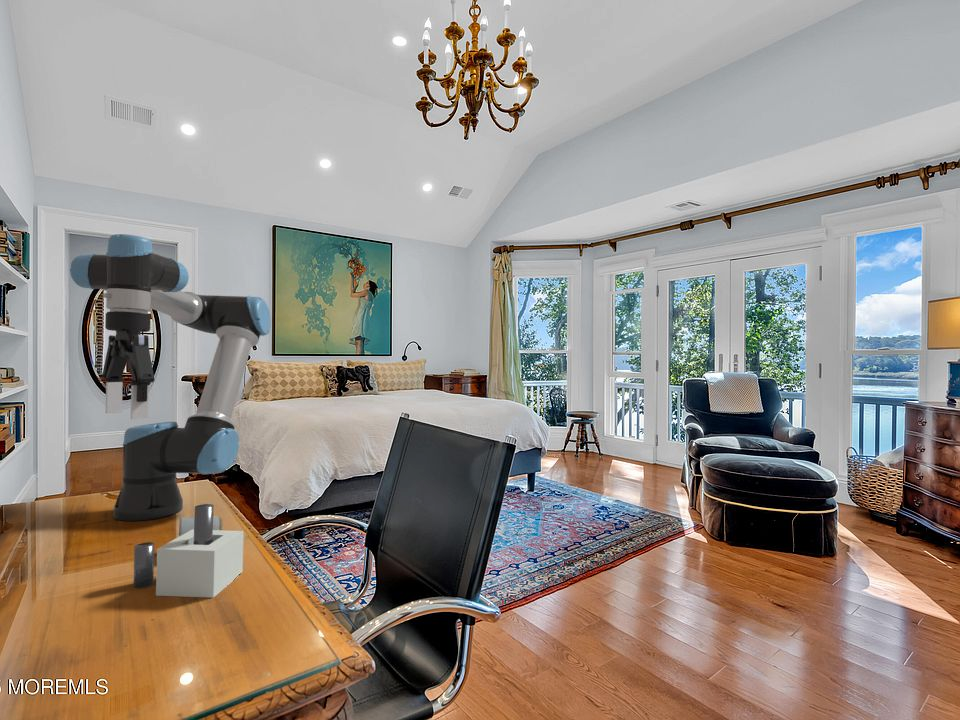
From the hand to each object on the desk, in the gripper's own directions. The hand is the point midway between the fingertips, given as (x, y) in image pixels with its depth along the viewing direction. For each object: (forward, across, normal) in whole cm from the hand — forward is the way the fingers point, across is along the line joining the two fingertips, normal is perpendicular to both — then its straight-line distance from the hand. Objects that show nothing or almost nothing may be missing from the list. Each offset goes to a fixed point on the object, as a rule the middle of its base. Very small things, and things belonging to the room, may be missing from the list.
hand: (126, 415), depth 102 cm
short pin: (+29, +18, -2) cm, 34 cm away
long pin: (+29, +25, +4) cm, 38 cm away
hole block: (+29, +25, +4) cm, 38 cm away
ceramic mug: (+29, +9, +11) cm, 32 cm away
